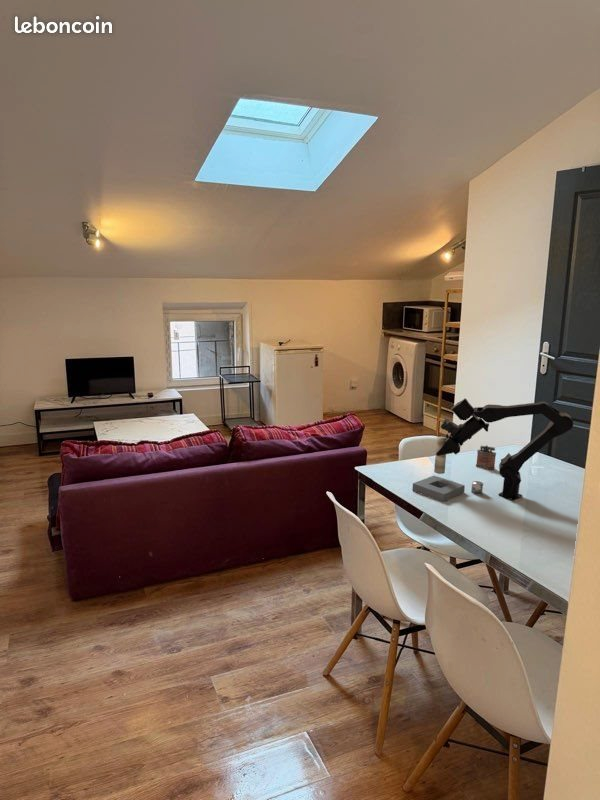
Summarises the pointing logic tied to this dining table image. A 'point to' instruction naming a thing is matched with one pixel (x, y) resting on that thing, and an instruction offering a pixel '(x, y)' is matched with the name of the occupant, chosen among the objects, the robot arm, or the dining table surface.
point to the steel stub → (477, 487)
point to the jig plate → (438, 488)
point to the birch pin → (440, 457)
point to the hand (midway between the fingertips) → (437, 453)
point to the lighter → (486, 458)
